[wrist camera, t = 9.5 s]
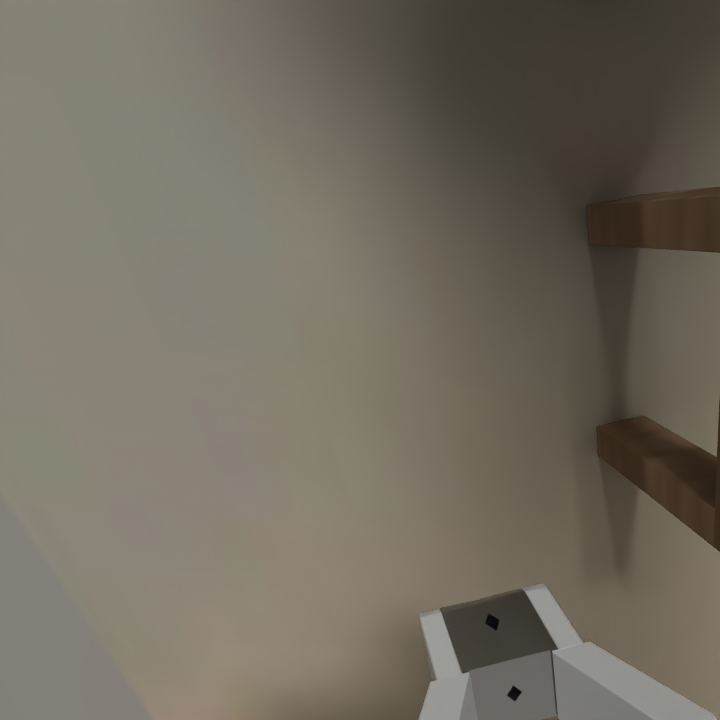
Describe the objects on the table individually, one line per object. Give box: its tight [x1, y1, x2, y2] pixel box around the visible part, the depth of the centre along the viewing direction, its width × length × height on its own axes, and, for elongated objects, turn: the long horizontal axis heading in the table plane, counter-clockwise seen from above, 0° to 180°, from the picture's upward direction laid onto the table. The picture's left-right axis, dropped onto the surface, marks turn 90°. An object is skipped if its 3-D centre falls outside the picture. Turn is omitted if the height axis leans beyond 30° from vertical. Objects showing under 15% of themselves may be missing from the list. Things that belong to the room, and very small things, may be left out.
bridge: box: [587, 187, 720, 551], centre depth 22 cm, size 3×15×10 cm, turn 11°
